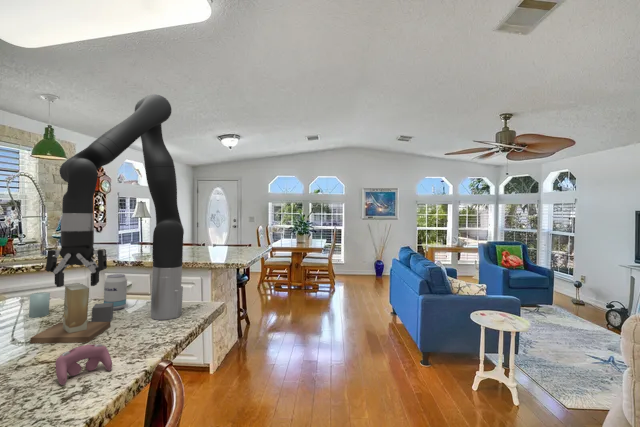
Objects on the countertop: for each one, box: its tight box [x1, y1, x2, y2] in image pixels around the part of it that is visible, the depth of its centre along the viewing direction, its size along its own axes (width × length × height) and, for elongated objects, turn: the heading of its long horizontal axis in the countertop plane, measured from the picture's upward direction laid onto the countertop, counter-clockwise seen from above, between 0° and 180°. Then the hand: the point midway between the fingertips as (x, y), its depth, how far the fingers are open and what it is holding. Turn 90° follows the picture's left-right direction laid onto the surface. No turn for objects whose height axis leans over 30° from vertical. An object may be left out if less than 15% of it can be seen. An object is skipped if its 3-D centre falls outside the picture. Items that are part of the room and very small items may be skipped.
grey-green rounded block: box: [28, 291, 51, 319], centre depth 106 cm, size 5×5×7 cm
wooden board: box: [29, 321, 112, 344], centre depth 91 cm, size 14×12×2 cm
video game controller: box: [54, 343, 113, 386], centre depth 70 cm, size 10×5×7 cm, turn 141°
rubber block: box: [91, 302, 114, 322], centre depth 103 cm, size 5×5×5 cm
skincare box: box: [62, 283, 90, 333], centre depth 91 cm, size 6×4×12 cm
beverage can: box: [103, 273, 128, 311], centre depth 116 cm, size 7×7×12 cm
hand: (77, 285), depth 91 cm, fingers open, 8 cm apart
